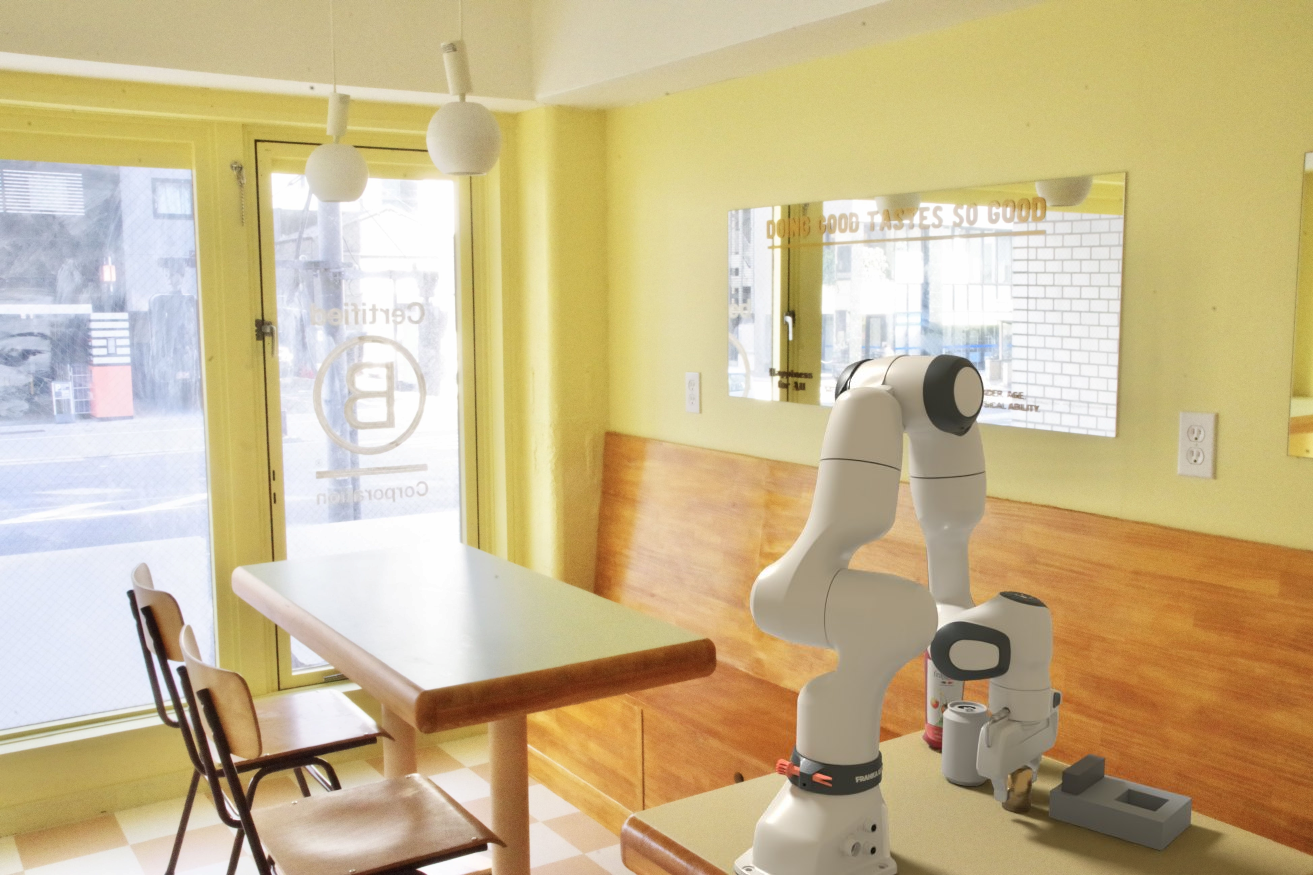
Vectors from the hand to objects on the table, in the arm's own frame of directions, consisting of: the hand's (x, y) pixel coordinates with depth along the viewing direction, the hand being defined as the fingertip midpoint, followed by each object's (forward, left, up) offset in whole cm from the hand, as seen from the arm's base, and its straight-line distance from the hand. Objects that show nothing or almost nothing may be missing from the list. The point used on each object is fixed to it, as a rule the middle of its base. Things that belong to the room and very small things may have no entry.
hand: (1015, 790), depth 170 cm
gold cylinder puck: (0, 0, -2) cm, 2 cm away
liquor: (+16, +21, -3) cm, 26 cm away
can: (+5, +11, -3) cm, 12 cm away
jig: (+6, -13, -2) cm, 15 cm away
